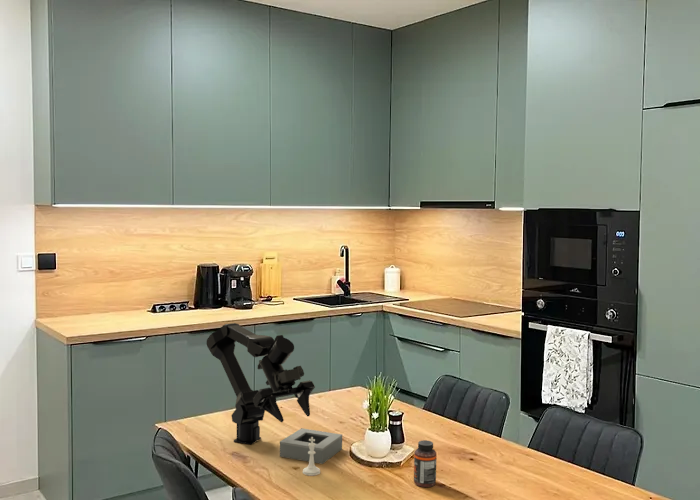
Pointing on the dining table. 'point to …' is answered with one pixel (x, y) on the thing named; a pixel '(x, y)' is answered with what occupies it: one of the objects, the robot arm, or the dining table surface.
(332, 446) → the gray square open box
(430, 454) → the supplement bottle
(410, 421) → the dining table surface
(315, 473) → the chess piece
